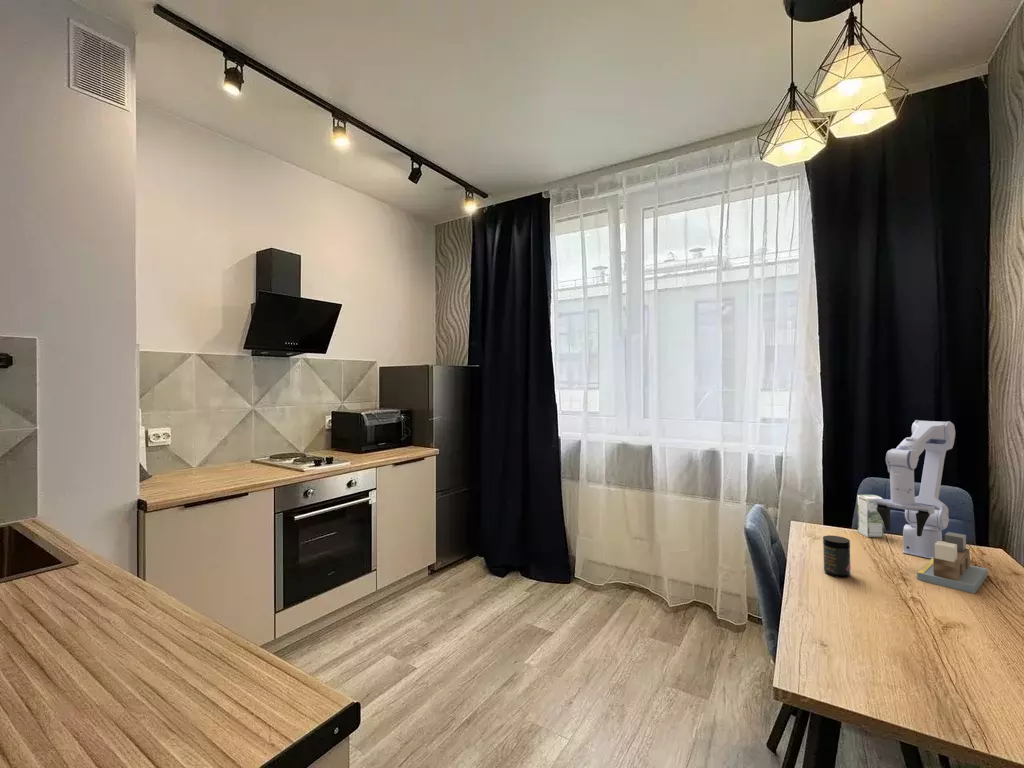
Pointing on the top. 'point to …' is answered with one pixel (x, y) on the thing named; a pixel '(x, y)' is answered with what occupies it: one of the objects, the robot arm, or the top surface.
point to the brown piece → (952, 566)
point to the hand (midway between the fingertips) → (903, 532)
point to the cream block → (946, 551)
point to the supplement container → (836, 556)
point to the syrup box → (869, 517)
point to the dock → (966, 582)
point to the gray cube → (956, 540)
